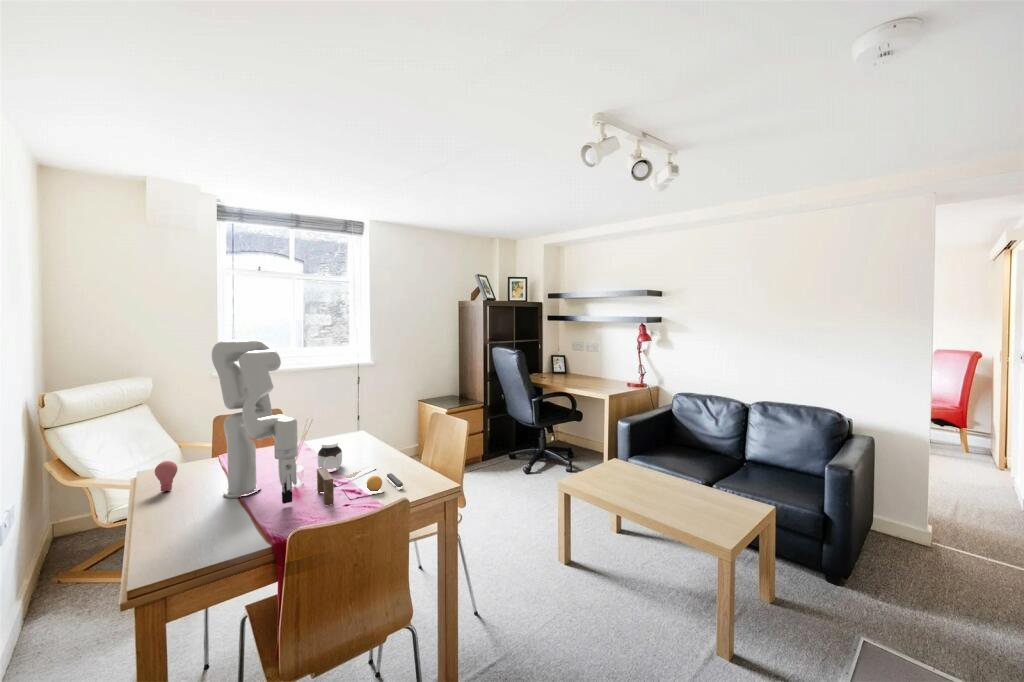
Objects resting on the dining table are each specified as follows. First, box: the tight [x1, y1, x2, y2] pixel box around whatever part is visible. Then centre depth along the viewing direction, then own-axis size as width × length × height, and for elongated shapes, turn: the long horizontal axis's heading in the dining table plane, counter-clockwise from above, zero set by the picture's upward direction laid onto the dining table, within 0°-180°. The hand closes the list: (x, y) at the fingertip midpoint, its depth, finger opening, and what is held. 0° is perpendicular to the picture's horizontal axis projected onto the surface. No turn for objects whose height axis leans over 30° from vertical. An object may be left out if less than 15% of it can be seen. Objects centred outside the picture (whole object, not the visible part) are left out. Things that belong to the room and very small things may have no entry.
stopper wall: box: [386, 473, 404, 487], centre depth 186 cm, size 14×2×2 cm, turn 33°
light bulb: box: [154, 460, 178, 493], centre depth 177 cm, size 7×7×12 cm
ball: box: [366, 475, 383, 491], centre depth 178 cm, size 6×6×6 cm
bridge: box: [316, 467, 335, 506], centre depth 171 cm, size 3×15×10 cm, turn 33°
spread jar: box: [317, 440, 343, 470], centre depth 204 cm, size 12×11×12 cm
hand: (287, 502), depth 164 cm, fingers closed
